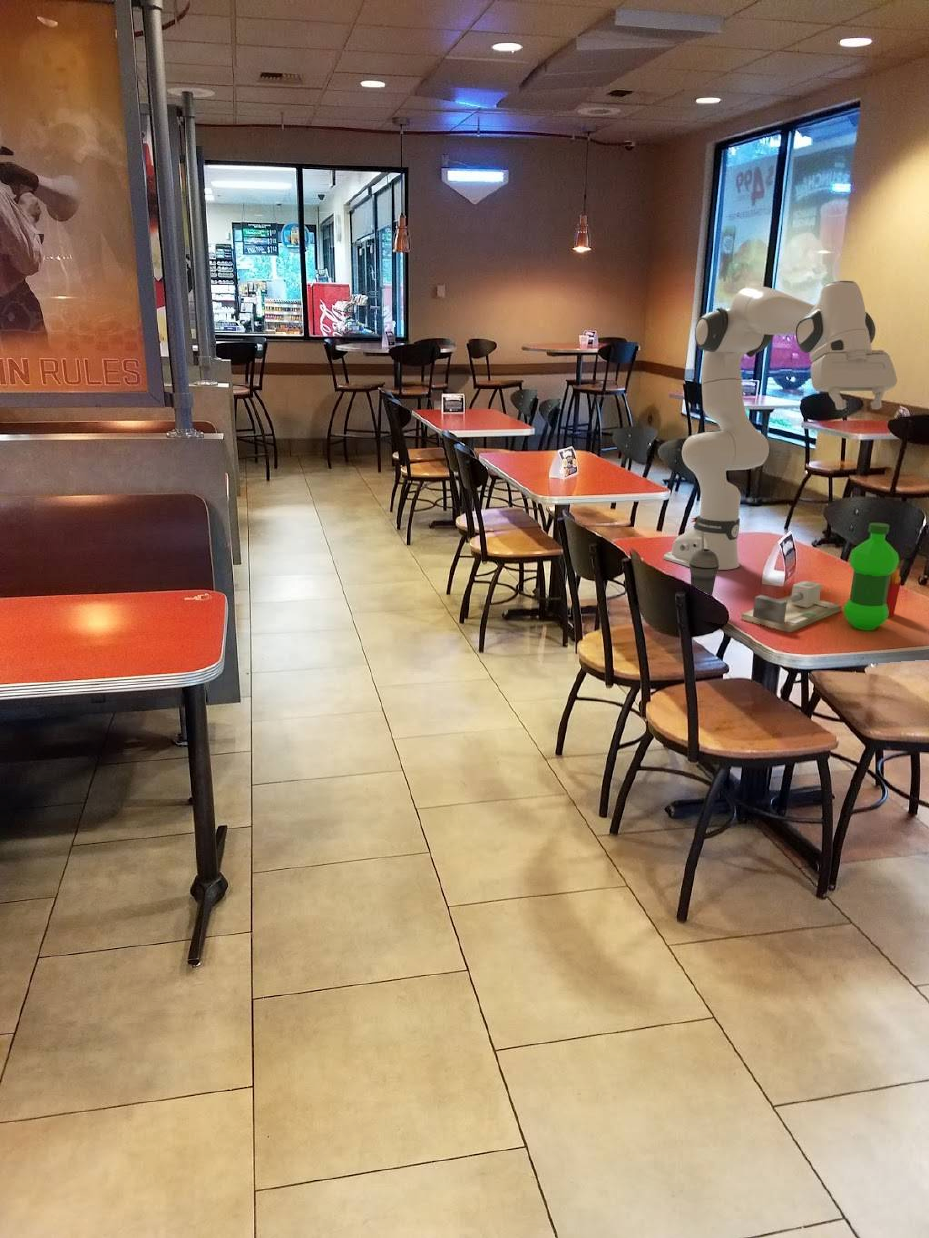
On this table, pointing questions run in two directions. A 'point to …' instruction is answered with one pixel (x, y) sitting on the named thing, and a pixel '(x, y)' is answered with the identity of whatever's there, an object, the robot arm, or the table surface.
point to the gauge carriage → (806, 594)
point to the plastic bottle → (871, 579)
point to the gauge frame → (787, 613)
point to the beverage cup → (704, 569)
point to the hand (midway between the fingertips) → (859, 408)
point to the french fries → (893, 592)
